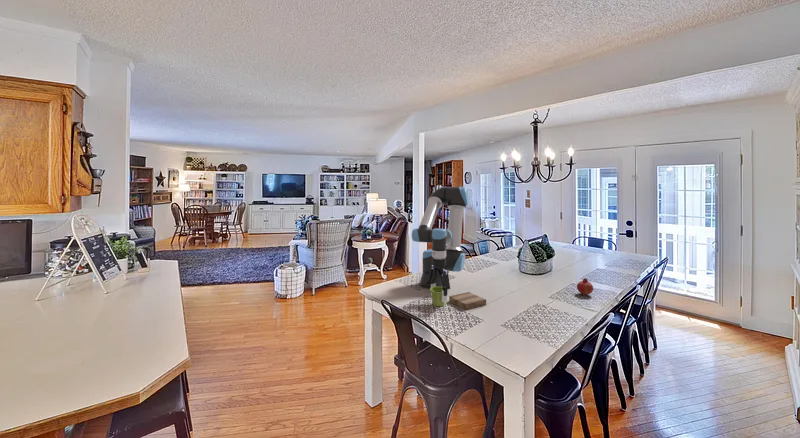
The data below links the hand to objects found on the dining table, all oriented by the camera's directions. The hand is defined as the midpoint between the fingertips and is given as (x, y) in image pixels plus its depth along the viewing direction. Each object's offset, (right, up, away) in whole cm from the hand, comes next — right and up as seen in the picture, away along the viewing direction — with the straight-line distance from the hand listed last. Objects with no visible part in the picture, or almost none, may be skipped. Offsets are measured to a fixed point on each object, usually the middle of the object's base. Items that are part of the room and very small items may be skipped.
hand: (438, 298), depth 169 cm
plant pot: (0, -4, 0) cm, 4 cm away
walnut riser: (+16, -3, +2) cm, 17 cm away
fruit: (+87, -2, +14) cm, 88 cm away
